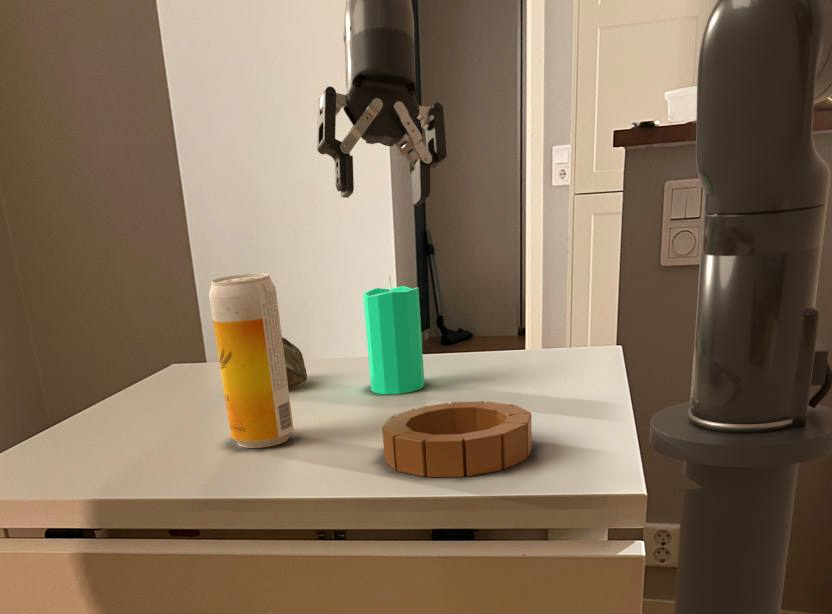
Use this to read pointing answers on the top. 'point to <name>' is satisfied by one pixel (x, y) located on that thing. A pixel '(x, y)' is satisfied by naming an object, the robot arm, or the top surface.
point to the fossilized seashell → (293, 364)
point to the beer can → (251, 359)
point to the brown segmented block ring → (457, 439)
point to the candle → (394, 339)
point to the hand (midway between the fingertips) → (384, 199)
